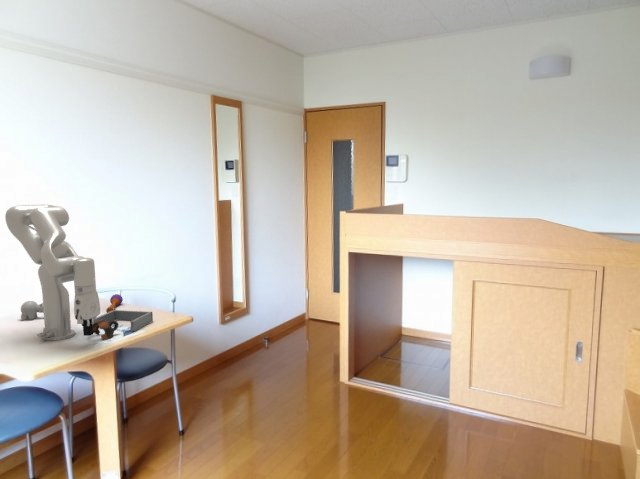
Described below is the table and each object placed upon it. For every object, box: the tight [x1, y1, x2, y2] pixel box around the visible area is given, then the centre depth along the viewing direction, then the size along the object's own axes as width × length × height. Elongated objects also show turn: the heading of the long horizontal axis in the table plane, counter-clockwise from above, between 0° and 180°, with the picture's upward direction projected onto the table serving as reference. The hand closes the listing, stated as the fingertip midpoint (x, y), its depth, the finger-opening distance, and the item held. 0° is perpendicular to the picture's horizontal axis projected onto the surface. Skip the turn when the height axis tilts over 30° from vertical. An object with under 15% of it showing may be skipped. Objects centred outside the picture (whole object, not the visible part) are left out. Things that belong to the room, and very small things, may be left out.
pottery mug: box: [93, 320, 119, 341], centre depth 198 cm, size 12×10×8 cm
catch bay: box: [94, 309, 154, 332], centre depth 213 cm, size 16×19×4 cm
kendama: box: [105, 293, 123, 313], centre depth 243 cm, size 6×6×20 cm
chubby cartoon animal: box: [20, 300, 44, 321], centre depth 224 cm, size 7×12×8 cm, turn 101°
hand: (88, 335), depth 188 cm, fingers closed
